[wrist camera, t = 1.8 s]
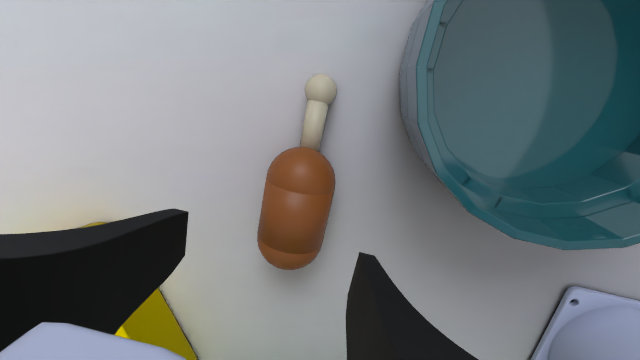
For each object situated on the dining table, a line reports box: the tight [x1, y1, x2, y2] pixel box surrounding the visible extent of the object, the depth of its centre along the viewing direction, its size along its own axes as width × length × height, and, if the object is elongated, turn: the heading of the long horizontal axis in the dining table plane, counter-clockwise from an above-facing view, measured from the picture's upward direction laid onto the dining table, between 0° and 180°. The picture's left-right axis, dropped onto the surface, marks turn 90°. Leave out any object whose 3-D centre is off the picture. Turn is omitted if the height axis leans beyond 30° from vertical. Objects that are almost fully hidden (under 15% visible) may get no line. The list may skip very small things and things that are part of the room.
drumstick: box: [257, 74, 337, 270], centre depth 18 cm, size 12×4×4 cm, turn 169°
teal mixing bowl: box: [399, 0, 640, 250], centre depth 14 cm, size 15×15×6 cm
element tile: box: [80, 222, 197, 360], centre depth 23 cm, size 15×15×5 cm
